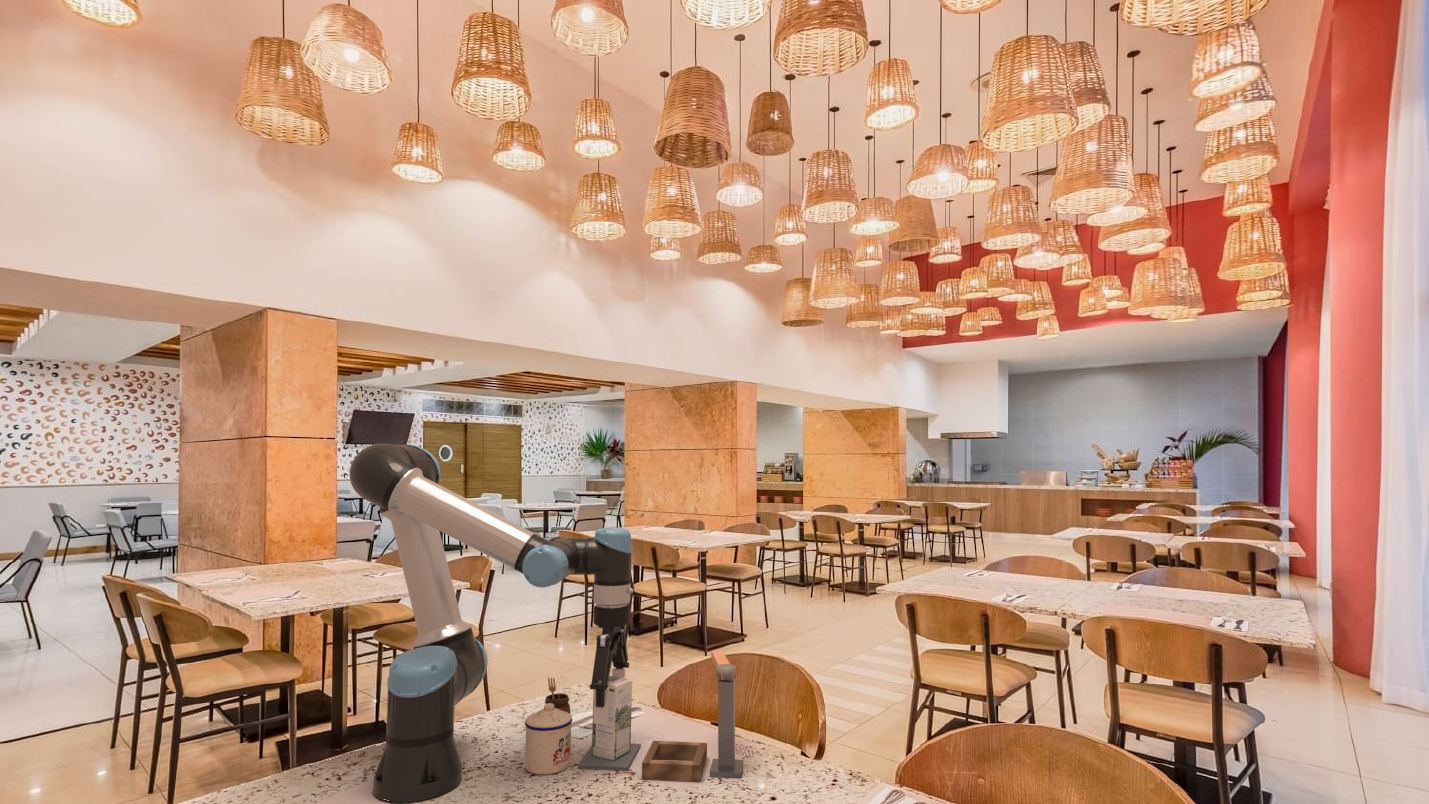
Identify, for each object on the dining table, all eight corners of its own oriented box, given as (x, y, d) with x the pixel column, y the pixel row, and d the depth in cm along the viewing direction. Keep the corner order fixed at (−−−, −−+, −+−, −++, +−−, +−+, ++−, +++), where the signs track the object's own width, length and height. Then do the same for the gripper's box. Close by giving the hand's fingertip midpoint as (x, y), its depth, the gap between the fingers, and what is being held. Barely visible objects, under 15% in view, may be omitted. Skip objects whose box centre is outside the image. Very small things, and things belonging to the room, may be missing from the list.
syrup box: (608, 746, 147) (609, 674, 149) (631, 751, 144) (632, 678, 146) (591, 756, 142) (592, 681, 144) (615, 761, 139) (616, 685, 141)
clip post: (709, 776, 134) (709, 683, 136) (713, 763, 140) (713, 674, 142) (741, 778, 133) (740, 684, 135) (743, 765, 139) (743, 675, 141)
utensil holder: (574, 725, 161) (575, 670, 162) (562, 735, 155) (563, 678, 156) (550, 723, 162) (551, 669, 164) (537, 733, 156) (538, 676, 158)
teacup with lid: (560, 777, 134) (562, 713, 135) (515, 773, 135) (517, 710, 136) (583, 752, 145) (584, 694, 147) (541, 749, 147) (543, 691, 148)
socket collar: (641, 779, 133) (641, 762, 133) (653, 755, 144) (653, 740, 144) (700, 782, 132) (699, 765, 132) (707, 758, 143) (707, 742, 143)
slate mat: (577, 768, 138) (577, 765, 138) (594, 744, 150) (594, 741, 150) (627, 770, 137) (627, 767, 137) (640, 746, 149) (640, 743, 149)
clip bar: (708, 657, 152) (708, 648, 153) (725, 657, 153) (725, 647, 153) (718, 680, 136) (718, 669, 136) (737, 679, 137) (737, 668, 137)
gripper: (614, 617, 133) (612, 734, 131) (642, 594, 158) (640, 693, 156) (576, 616, 134) (573, 732, 132) (609, 593, 159) (607, 691, 157)
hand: (609, 711), depth 144 cm, fingers open, 13 cm apart
